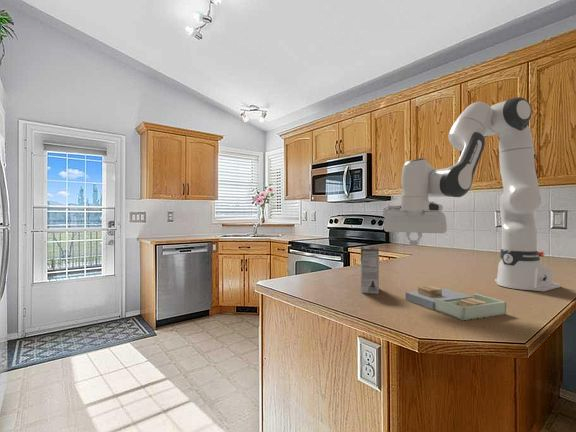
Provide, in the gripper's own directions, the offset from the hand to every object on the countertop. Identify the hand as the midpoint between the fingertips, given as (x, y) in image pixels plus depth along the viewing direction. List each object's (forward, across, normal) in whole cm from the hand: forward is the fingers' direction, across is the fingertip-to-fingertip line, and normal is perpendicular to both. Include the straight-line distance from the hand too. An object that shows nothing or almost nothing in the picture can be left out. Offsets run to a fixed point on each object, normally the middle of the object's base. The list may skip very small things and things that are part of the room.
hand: (413, 245), depth 111 cm
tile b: (+15, +5, -6) cm, 17 cm away
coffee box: (+18, -15, +4) cm, 24 cm away
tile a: (+17, +16, -10) cm, 26 cm away
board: (+18, +8, -5) cm, 20 cm away
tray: (+17, +15, -13) cm, 27 cm away
